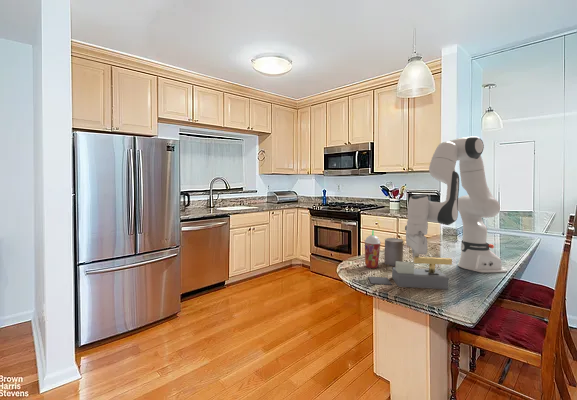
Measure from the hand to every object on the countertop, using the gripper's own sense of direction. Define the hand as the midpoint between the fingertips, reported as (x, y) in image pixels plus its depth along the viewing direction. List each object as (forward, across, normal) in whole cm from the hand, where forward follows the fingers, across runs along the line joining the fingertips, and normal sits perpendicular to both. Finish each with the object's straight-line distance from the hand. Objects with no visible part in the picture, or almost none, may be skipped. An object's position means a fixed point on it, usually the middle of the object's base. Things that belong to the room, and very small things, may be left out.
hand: (415, 259), depth 140 cm
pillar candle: (+11, +28, +3) cm, 30 cm away
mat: (+10, -3, +16) cm, 20 cm away
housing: (+10, -2, -1) cm, 11 cm away
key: (+5, -3, -7) cm, 9 cm away
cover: (+6, -2, +5) cm, 8 cm away
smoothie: (+11, +19, +16) cm, 28 cm away
